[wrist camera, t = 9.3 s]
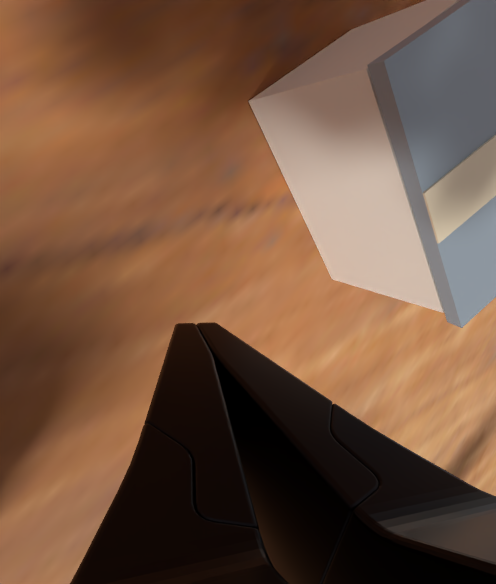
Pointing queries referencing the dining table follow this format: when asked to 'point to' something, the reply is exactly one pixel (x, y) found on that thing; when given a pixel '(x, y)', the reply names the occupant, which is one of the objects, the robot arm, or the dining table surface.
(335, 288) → the dining table surface
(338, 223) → the storage box
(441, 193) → the lid
